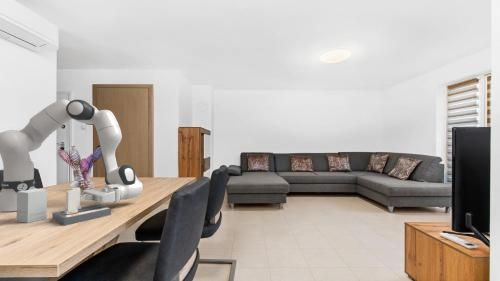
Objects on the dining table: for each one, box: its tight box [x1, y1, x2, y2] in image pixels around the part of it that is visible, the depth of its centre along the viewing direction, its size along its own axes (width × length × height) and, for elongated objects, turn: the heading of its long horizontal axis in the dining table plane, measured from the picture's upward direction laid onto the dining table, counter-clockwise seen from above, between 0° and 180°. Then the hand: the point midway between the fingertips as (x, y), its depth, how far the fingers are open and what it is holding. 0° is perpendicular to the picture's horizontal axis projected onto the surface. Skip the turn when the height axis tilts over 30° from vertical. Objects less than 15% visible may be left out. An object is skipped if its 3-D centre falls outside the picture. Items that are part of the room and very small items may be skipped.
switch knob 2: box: [70, 187, 82, 210], centre depth 108 cm, size 2×4×10 cm, turn 146°
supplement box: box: [16, 188, 48, 224], centre depth 103 cm, size 7×7×13 cm
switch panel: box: [51, 203, 112, 226], centre depth 107 cm, size 13×18×3 cm
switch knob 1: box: [63, 190, 78, 214], centre depth 102 cm, size 2×4×10 cm, turn 146°
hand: (79, 198), depth 109 cm, fingers closed, pressing on switch knob 2
